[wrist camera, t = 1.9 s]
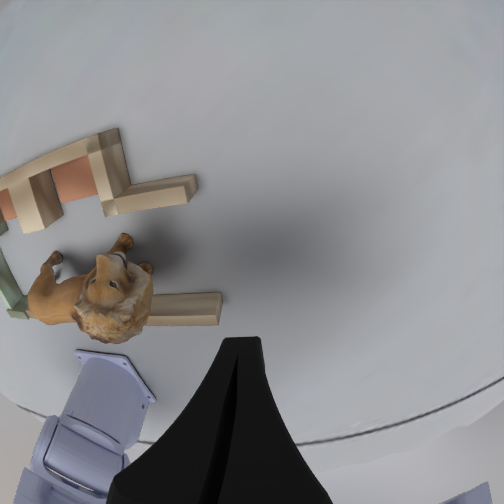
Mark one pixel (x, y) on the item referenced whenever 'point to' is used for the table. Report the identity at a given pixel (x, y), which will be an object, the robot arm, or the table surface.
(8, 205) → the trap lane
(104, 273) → the lion figurine
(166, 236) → the table surface
